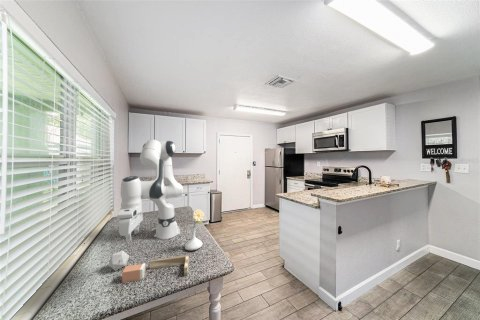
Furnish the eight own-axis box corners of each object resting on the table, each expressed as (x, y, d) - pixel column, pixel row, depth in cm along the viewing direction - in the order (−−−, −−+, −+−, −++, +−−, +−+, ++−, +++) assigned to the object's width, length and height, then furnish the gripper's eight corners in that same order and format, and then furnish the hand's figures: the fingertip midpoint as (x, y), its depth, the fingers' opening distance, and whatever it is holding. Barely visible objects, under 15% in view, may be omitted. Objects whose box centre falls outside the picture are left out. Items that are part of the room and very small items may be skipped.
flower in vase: (185, 254, 110) (184, 213, 109) (183, 245, 120) (182, 208, 119) (206, 249, 115) (205, 210, 114) (203, 241, 125) (202, 206, 124)
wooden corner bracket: (150, 267, 97) (150, 260, 97) (188, 261, 102) (188, 254, 101) (144, 282, 85) (143, 274, 85) (187, 275, 90) (187, 267, 90)
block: (126, 275, 91) (126, 265, 91) (145, 272, 93) (145, 263, 93) (122, 282, 86) (121, 272, 86) (142, 279, 88) (142, 269, 88)
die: (104, 273, 94) (109, 262, 90) (110, 257, 101) (115, 246, 98) (123, 274, 98) (128, 263, 94) (127, 258, 105) (132, 247, 102)
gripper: (133, 204, 98) (134, 229, 98) (115, 216, 78) (116, 247, 78) (145, 203, 99) (146, 228, 100) (131, 215, 79) (132, 245, 80)
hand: (133, 236), depth 89 cm, fingers open, 8 cm apart
